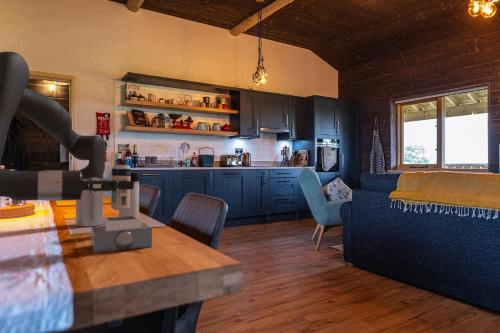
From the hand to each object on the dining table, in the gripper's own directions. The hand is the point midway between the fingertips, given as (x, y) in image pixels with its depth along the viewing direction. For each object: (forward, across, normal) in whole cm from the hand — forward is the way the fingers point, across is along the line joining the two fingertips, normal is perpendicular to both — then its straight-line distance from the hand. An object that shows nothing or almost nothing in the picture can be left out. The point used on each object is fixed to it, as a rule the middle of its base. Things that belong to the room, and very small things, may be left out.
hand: (131, 184), depth 91 cm
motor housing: (-2, 0, +16) cm, 17 cm away
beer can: (-3, 0, +7) cm, 7 cm away
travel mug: (+3, +20, +17) cm, 26 cm away
